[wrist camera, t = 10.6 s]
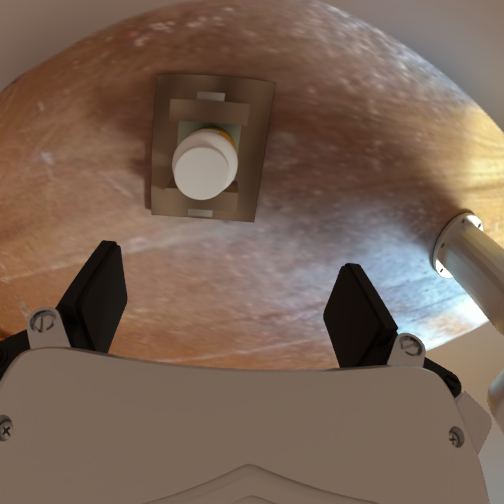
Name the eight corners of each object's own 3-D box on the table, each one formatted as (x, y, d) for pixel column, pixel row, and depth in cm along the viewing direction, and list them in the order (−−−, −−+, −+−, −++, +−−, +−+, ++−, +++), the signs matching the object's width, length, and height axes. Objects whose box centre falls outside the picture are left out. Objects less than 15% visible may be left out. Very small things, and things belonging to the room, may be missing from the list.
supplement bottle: (236, 173, 29) (239, 208, 20) (186, 175, 28) (168, 211, 20) (236, 124, 26) (239, 135, 17) (183, 126, 25) (161, 140, 17)
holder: (273, 83, 25) (282, 80, 20) (253, 218, 33) (257, 239, 29) (160, 75, 23) (147, 70, 19) (153, 211, 31) (142, 230, 27)
